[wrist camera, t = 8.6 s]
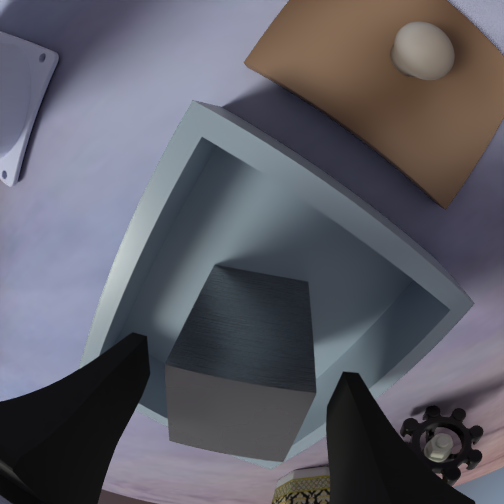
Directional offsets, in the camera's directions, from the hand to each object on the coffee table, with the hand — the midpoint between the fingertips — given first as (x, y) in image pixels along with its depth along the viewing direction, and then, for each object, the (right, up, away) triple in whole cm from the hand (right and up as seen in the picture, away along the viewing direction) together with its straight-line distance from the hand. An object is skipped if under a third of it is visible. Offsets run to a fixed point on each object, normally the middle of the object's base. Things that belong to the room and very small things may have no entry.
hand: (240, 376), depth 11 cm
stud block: (+7, +12, -1) cm, 14 cm away
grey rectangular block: (+1, +2, +4) cm, 4 cm away
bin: (+1, +2, +5) cm, 5 cm away
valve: (+14, -12, +9) cm, 20 cm away
